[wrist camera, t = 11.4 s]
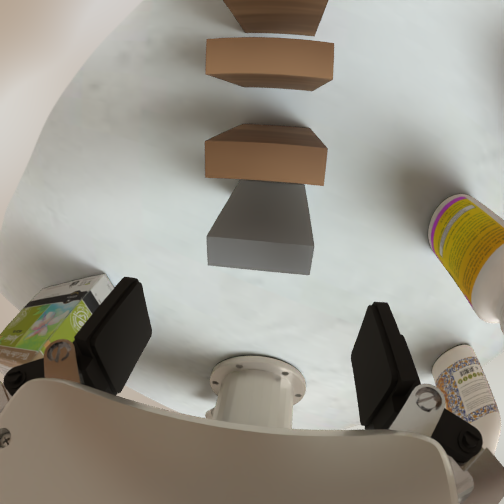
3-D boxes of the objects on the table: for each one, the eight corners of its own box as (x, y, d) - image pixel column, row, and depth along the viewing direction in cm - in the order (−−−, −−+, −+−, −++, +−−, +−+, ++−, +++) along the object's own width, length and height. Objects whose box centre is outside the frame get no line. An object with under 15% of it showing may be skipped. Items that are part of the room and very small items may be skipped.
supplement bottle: (415, 250, 23) (477, 357, 12) (438, 183, 19) (535, 263, 8) (465, 261, 22) (528, 353, 11) (488, 201, 19) (574, 277, 8)
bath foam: (426, 360, 30) (459, 496, 13) (470, 335, 27) (518, 465, 10) (435, 380, 32) (461, 497, 15) (473, 358, 29) (511, 472, 12)
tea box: (105, 268, 28) (26, 365, 16) (146, 333, 33) (98, 432, 20) (41, 286, 32) (-18, 354, 20) (77, 337, 37) (32, 408, 24)
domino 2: (312, 91, 18) (332, 79, 9) (243, 87, 18) (205, 74, 10) (313, 71, 17) (334, 43, 8) (244, 67, 17) (206, 39, 9)
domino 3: (308, 148, 20) (323, 185, 11) (242, 144, 20) (205, 177, 12) (310, 128, 19) (327, 148, 11) (242, 123, 20) (204, 141, 11)
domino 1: (314, 36, 15) (334, -14, 7) (245, 32, 16) (210, -17, 7) (314, 18, 15) (332, -41, 6) (246, 15, 15) (212, -43, 6)
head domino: (302, 203, 22) (309, 275, 14) (240, 198, 23) (207, 265, 14) (304, 184, 21) (314, 246, 13) (240, 179, 22) (206, 236, 13)
